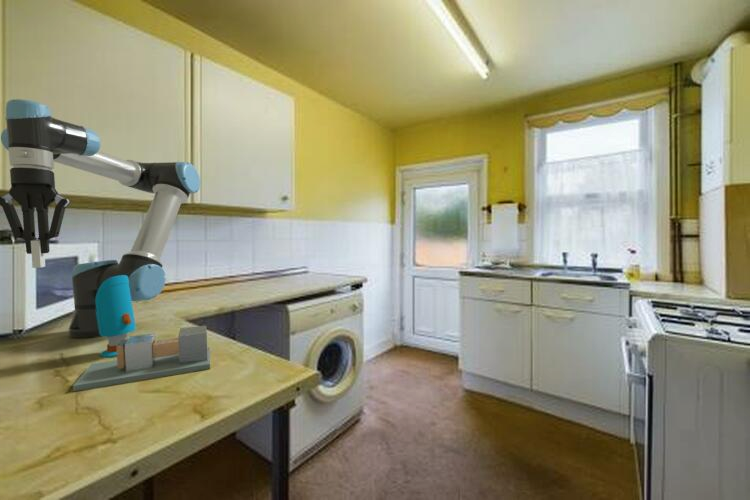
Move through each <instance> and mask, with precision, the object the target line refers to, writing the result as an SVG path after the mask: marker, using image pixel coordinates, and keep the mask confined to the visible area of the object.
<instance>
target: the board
mask: <svg viewBox="0 0 750 500" xmlns="http://www.w3.org/2000/svg"><path fill="white" fill-rule="evenodd" d="M210 355H211V353H210V347H208V346H207V361H200V362H194V363H188V364H181V365H179V355H172V356H165V357H158V358H156V360H155V363H154V365H153V368H151V369H144V370H138V371H131V372H126V366H125V368H122V369H118V366H117V359H116V360H112V361H110V360H109V361H103V362H102V361H101V362H95V363H91V364H90V365H89V366H88V368H87V369H86V370H85V371H84V372H83V373H82V375H81V376H79V378H78V379H77V381H75V383H73V385H72V391H73V392H78V391H84V390H90V389H97V388H103V387H107V386H108V387H109V386H113V385H121V384H126V383H127V384H128V383H133V382H139V381H144V380H150V379H156V378H163V377H169V376H174V375H181V374H186V373H192V372H198V371H203V370H204V371H205V370H210V369H211V357H210Z"/></svg>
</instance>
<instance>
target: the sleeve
mask: <svg viewBox="0 0 750 500" xmlns="http://www.w3.org/2000/svg"><path fill="white" fill-rule="evenodd" d="M127 339H128V341H127V342H126V343H125V359H126V372H131V371H138V370H144V369H151V368H153V365H154V363H155V360H156V358H153V354H152V343H153V341H156V334H155V333H148V334H146V333H145V334H140V335H139V334H138V335H131V336H130V337H129V338H127Z"/></svg>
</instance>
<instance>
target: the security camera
mask: <svg viewBox="0 0 750 500" xmlns="http://www.w3.org/2000/svg"><path fill="white" fill-rule="evenodd" d="M93 296H94V303H95V310H96V316H97V322H98V329H99V334H100V336H99V337H104V338H108V339H107V341H108V343H107V345H106V350H103V351H101V353H100V356H101V357H102V358H117V347H116V346H117V345H118V344H119V342H120V341H121V340H124V339H128V334H129V333H131V332H134V331H136V330H137V327H136V322H135V315H134V310H133V303H132V302H133V301H131V295H130V286H129V280H128V276H127V275H119V276H114V277H110V278H108V279H106V280H105V281H104V282H103V283H102V284H101V285H100V287H99V289H94V290H93Z"/></svg>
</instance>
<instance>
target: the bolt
mask: <svg viewBox="0 0 750 500" xmlns="http://www.w3.org/2000/svg"><path fill="white" fill-rule="evenodd" d="M128 339H129V338H127V339H124V340H121V341H120V342H119V344H118V345H117V346H116V347H117V357H116V360H117V366H118V369H122V368H125V366H126V359H125V343H126V342H127V341H128ZM152 354H153V358H158V357H165V356H172V355H179V343H178V337H175V338H168V339H167V338H165V339H159V340H155V341H153V343H152Z"/></svg>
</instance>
